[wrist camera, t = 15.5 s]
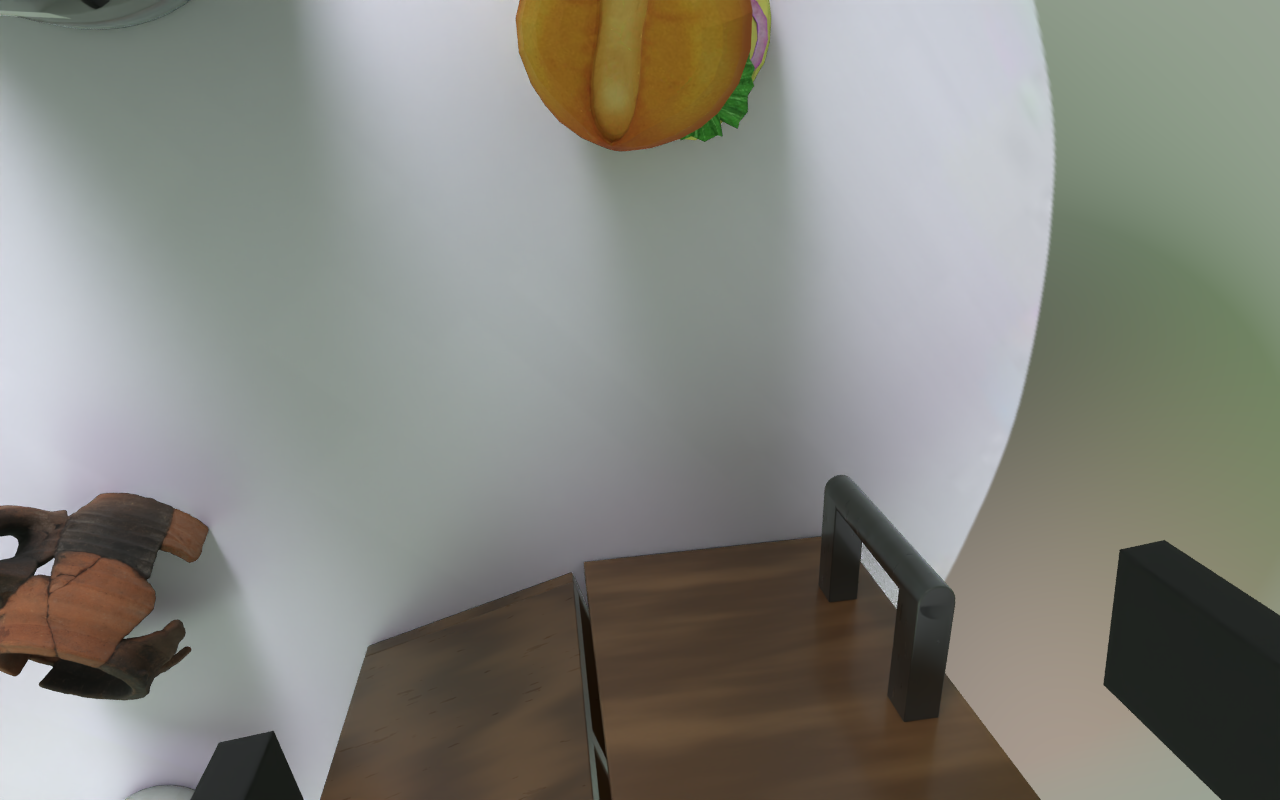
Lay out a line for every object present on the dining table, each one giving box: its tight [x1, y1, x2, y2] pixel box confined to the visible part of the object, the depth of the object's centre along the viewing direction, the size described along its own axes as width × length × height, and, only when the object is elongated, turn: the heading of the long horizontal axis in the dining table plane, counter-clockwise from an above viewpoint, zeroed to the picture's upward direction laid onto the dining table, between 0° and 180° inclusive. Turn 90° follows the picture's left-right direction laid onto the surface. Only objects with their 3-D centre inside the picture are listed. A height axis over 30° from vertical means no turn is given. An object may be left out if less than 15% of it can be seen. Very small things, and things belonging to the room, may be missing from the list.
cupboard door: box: [584, 475, 1040, 800], centre depth 34 cm, size 8×16×20 cm, turn 92°
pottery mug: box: [0, 493, 209, 700], centre depth 37 cm, size 12×10×8 cm
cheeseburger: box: [516, 0, 771, 151], centre depth 30 cm, size 10×11×10 cm
